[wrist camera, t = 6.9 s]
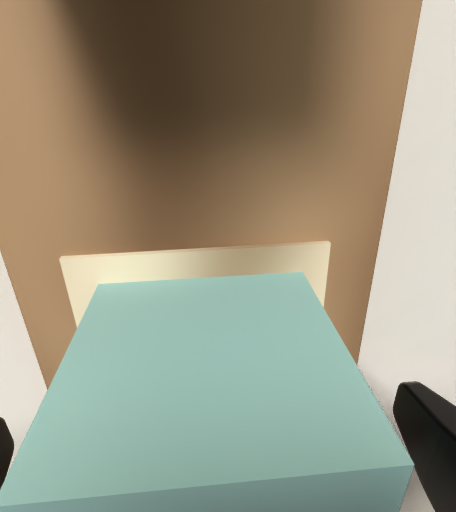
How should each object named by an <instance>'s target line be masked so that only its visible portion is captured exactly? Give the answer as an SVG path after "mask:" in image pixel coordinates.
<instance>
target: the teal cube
mask: <svg viewBox="0 0 456 512" xmlns="http://www.w3.org/2000/svg"><path fill="white" fill-rule="evenodd" d="M413 468H414V463H413V461H412V459H411V458H410V456H409V454H408V452H407V451H406V449H405V447H404V446H403V444H402V442H401V440H400V439H399V437H398V435H397V434H396V432H395V430H394V428H393V427H392V425H391V423H390V421H389V420H388V418H387V416H386V415H385V413H384V411H383V409H382V408H381V406H380V404H379V402H378V401H377V399H376V397H375V396H374V394H373V392H372V390H371V389H370V387H369V385H368V384H367V382H366V380H365V378H364V377H363V375H362V373H361V371H360V370H359V368H358V366H357V365H356V363H355V361H354V359H353V358H352V356H351V354H350V353H349V351H348V349H347V347H346V346H345V344H344V342H343V340H342V339H341V337H340V335H339V334H338V332H337V330H336V328H335V327H334V325H333V323H332V322H331V320H330V318H329V316H328V315H327V313H326V311H325V309H324V308H323V306H322V304H321V303H320V301H319V299H318V297H317V296H316V294H315V292H314V291H313V289H312V287H311V285H310V284H309V282H308V280H307V278H306V277H305V275H304V273H303V272H290V273H274V274H257V275H240V276H223V277H207V278H190V279H173V280H156V281H139V282H123V283H106V284H98V286H97V288H96V290H95V292H94V294H93V296H92V298H91V300H90V303H89V305H88V307H87V309H86V311H85V313H84V315H83V317H82V319H81V321H80V324H79V326H78V328H77V330H76V332H75V334H74V336H73V338H72V340H71V342H70V344H69V347H68V349H67V351H66V353H65V355H64V357H63V359H62V361H61V363H60V365H59V368H58V370H57V372H56V374H55V376H54V378H53V380H52V382H51V384H50V386H49V389H48V391H47V393H46V395H45V397H44V399H43V401H42V403H41V405H40V407H39V410H38V412H37V414H36V416H35V418H34V420H33V422H32V424H31V426H30V428H29V431H28V433H27V435H26V437H25V439H24V441H23V443H22V445H21V447H20V449H19V452H18V454H17V456H16V458H15V460H14V462H13V464H12V466H11V468H10V470H9V473H8V475H7V477H6V479H5V481H4V483H3V485H2V487H1V489H0V512H399V510H400V507H401V504H402V501H403V498H404V495H405V492H406V489H407V486H408V483H409V480H410V477H411V474H412V471H413Z"/></svg>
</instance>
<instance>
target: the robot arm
mask: <svg viewBox="0 0 456 512" xmlns="http://www.w3.org/2000/svg"><path fill="white" fill-rule="evenodd" d="M393 414H394V417H395V420H396V422H397V425H398V427H399V430H400V432H401V435H402V437H403V440H404V442H405V445H406V447H407V450H408V452H409V455H410V457H411V459H412V461H413V463H414V467H415V470H416V472H417V475H418V477H419V479H420V482H421V484H422V486H423V488H424V490H425V492H426V494H427V496H428V498H429V500H430V502H431V504H432V506H433V508H434V510H435V512H456V406H455V405H453V404H452V403H450V402H449V401H447V400H446V399H444V398H443V397H441V396H440V395H438V394H437V393H435V392H434V391H432V390H431V389H429V388H428V387H426V386H425V385H423V384H421V383H420V382H416V381H413V382H403V383H401V384H400V385H399V386H398V389H397V393H396V397H395V401H394V405H393ZM13 451H14V441H13V438H12V436H11V434H10V432H9V429H8V427H7V425H6V422H5V420H4V419H3V418H1V417H0V489H1V487H2V485H3V483H4V481H5V478H6V475H7V471H8V468H9V465H10V462H11V458H12V455H13Z"/></svg>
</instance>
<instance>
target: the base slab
mask: <svg viewBox="0 0 456 512" xmlns="http://www.w3.org/2000/svg"><path fill="white" fill-rule="evenodd" d="M421 6H422V0H0V251H1V254H2V257H3V260H4V263H5V266H6V269H7V272H8V275H9V278H10V280H11V283H12V286H13V289H14V292H15V295H16V298H17V301H18V304H19V307H20V310H21V313H22V316H23V319H24V322H25V325H26V328H27V331H28V334H29V337H30V339H31V342H32V345H33V348H34V351H35V354H36V357H37V360H38V363H39V366H40V369H41V372H42V375H43V378H44V381H45V384H46V387H47V390H48V389H49V386H50V384H51V382H52V380H53V378H54V376H55V374H56V372H57V370H58V368H59V365H60V363H61V361H62V359H63V357H64V355H65V353H66V351H67V349H68V347H69V344H70V342H71V340H72V338H73V336H74V334H75V332H76V330H77V328H78V326H79V324H80V321H81V319H82V317H83V315H84V313H85V311H86V309H87V307H88V305H89V303H90V300H91V298H92V296H93V294H94V292H95V290H96V288H97V286H98V284H106V283H123V282H139V281H156V280H173V279H190V278H207V277H223V276H240V275H257V274H274V273H290V272H303V273H304V275H305V277H306V278H307V280H308V282H309V284H310V285H311V287H312V289H313V291H314V292H315V294H316V296H317V297H318V299H319V301H320V303H321V304H322V306H323V308H324V309H325V311H326V313H327V315H328V316H329V318H330V320H331V322H332V323H333V325H334V327H335V328H336V330H337V332H338V334H339V335H340V337H341V339H342V340H343V342H344V344H345V346H346V347H347V349H348V351H349V353H350V354H351V356H352V358H353V359H354V361H355V363H356V365H357V363H358V357H359V351H360V346H361V340H362V335H363V329H364V324H365V318H366V312H367V307H368V301H369V296H370V290H371V285H372V279H373V273H374V268H375V262H376V257H377V251H378V246H379V240H380V234H381V229H382V223H383V218H384V212H385V207H386V201H387V195H388V190H389V184H390V179H391V173H392V168H393V162H394V156H395V151H396V145H397V140H398V134H399V129H400V123H401V117H402V112H403V106H404V101H405V95H406V90H407V84H408V78H409V73H410V67H411V62H412V56H413V51H414V45H415V39H416V34H417V28H418V23H419V17H420V12H421Z"/></svg>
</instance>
